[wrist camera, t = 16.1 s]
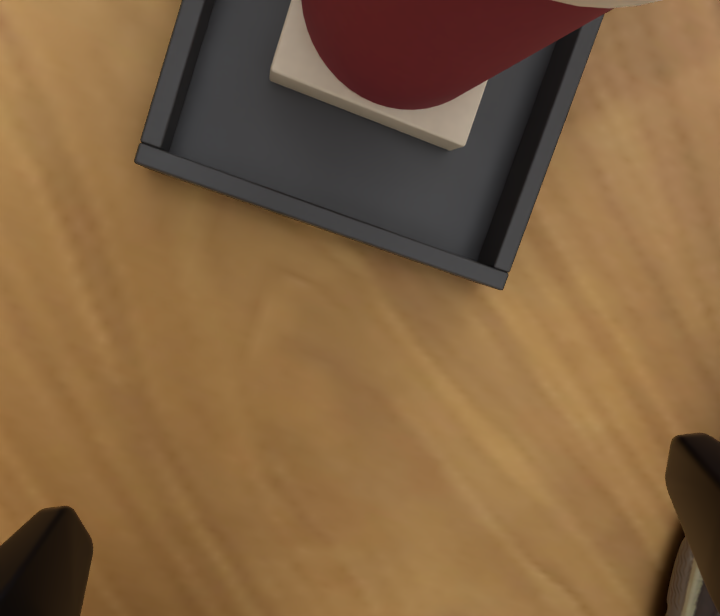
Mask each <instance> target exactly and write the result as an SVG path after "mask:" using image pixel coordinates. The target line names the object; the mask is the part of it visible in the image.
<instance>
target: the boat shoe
mask: <svg viewBox="0 0 720 616" xmlns="http://www.w3.org/2000/svg"><path fill="white" fill-rule="evenodd" d="M667 604H668V609H667V613H666V615H665V616H720V615H719V613H718V611H717V609H716V607H715V605H714V603H713V601H712V599H711V597H710V595H709V592H708V590H707V588H706V585H705V583H704V581H703V578H702V576H701V573H700V571H699V568H698V566H697V563H696V561H695V558H694V556H693V553H692V551H691V548H690V546H689V543H688V541H687V538H686V536H685V538H684V539H683V541H682V543H681V545H680V548H679V551H678V554H677V557H676V560H675V563H674V567H673V571H672V575H671V579H670V584H669V589H668V594H667Z"/></svg>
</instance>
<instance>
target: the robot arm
mask: <svg viewBox="0 0 720 616" xmlns="http://www.w3.org/2000/svg"><path fill="white" fill-rule="evenodd" d="M665 481H666V486H667V490H668V493H669V495H670V498H671V500H672V503H673V505H674V508H675V510H676V513H677V515H678V518H679V520H680V523H681V526H682V528H683V531H684V533H685V536H686V538H687V541H688V543H689V546H690V548H691V551H692V553H693V556H694V558H695V561H696V563H697V566H698V568H699V571H700V573H701V576H702V578H703V581H704V583H705V585H706V588H707V590H708V592H709V595H710V597H711V599H712V601H713V603H714V605H715V607H716V609H717V611H718V613H719V615H720V442H719V441H717V440H716V439H714V438H713V437H711V436H709V435H707V434H704V433H693V434H684V435H677V436H675V437H674V438H673V439H672V442H671V445H670V451H669V456H668V462H667V467H666V473H665ZM92 555H93V543H92V539H91V537H90V535H89V533H88V532H87V530H86V529H85V527H84V525H83V524H82V522H81V520H80V519H79V517H78V515H77V514H76V512H75V511H74V509H72V508H71V507H69V506H60V507H51V508H45V509H42V510H40V511H39V512H38V513H36V514H35V515H34V516H33V517H32V518H31V519H30V520H29V521H27V522H26V523H25V524H24V525H23V526H22V527H21V528H20V529H19V530H18V531H16V532H15V533H14V534H13V535H12V536H11V537H10V538H9V539H8V540H7V541H5V542H4V543H3V544H2V545H1V546H0V616H80V614H81V609H82V604H83V599H84V594H85V589H86V585H87V580H88V575H89V570H90V565H91V560H92Z"/></svg>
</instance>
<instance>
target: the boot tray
mask: <svg viewBox="0 0 720 616" xmlns="http://www.w3.org/2000/svg"><path fill="white" fill-rule="evenodd" d="M290 3H291V0H182V2H181V5H180V9H179V12H178V16H177V19H176V22H175V26H174V29H173V32H172V36H171V39H170V42H169V46H168V49H167V52H166V56H165V59H164V62H163V66H162V69H161V72H160V76H159V79H158V82H157V86H156V89H155V92H154V96H153V99H152V102H151V106H150V109H149V112H148V116H147V119H146V122H145V126H144V129H143V132H142V136H141V139H140V140H141V142H142V143H140V144H139V146H138V149H137V153H136V156H135V159H134V162H135V163H136V164H138V165H141V166H143V167H145V168H148V169H151V170H154V171H157V172H159V173H162V174H165V175H168V176H171V177H174V178H177V179H180V180H182V181H185V182H188V183H191V184H194V185H197V186H200V187H203V188H206V189H208V190H211V191H214V192H217V193H220V194H223V195H226V196H229V197H231V198H234V199H237V200H240V201H243V202H246V203H249V204H252V205H254V206H257V207H260V208H263V209H266V210H269V211H272V212H275V213H277V214H280V215H283V216H286V217H289V218H292V219H295V220H298V221H301V222H303V223H306V224H309V225H312V226H315V227H318V228H321V229H324V230H326V231H329V232H332V233H335V234H338V235H341V236H344V237H347V238H349V239H352V240H355V241H358V242H361V243H364V244H367V245H370V246H372V247H375V248H378V249H381V250H384V251H387V252H390V253H393V254H395V255H398V256H401V257H404V258H407V259H410V260H413V261H416V262H419V263H421V264H424V265H427V266H430V267H433V268H436V269H439V270H442V271H444V272H447V273H450V274H453V275H456V276H459V277H462V278H465V279H467V280H470V281H473V282H476V283H479V284H482V285H485V286H489V287H492V288H495V289H498V290H503V288H504V286H505V283H506V280H507V278H508V273H507V272H510V269H511V267H512V264H513V261H514V259H515V256H516V253H517V250H518V248H519V245H520V242H521V239H522V237H523V234H524V231H525V229H526V226H527V223H528V220H529V218H530V215H531V212H532V210H533V207H534V204H535V201H536V199H537V196H538V193H539V190H540V188H541V185H542V182H543V180H544V177H545V174H546V171H547V169H548V166H549V163H550V161H551V158H552V155H553V152H554V150H555V147H556V144H557V142H558V139H559V136H560V133H561V131H562V128H563V125H564V122H565V120H566V117H567V114H568V112H569V109H570V106H571V103H572V101H573V98H574V95H575V93H576V90H577V87H578V84H579V82H580V79H581V76H582V73H583V71H584V68H585V65H586V63H587V60H588V57H589V54H590V52H591V49H592V46H593V44H594V41H595V38H596V35H597V33H598V30H599V27H600V24H601V22H602V19H603V16H604V14H603V15H601V16H599V17H598V18H596V19H594V20H592V21H591V22H589V23H587V24H585V25H584V26H582V27H580V28H578V29H577V30H575V31H573V32H571V33H569V34H568V35H566V36H564V37H562V38H561V39H559V40H557V41H555V42H554V43H552V44H550V45H548V46H547V47H545V48H543V49H541V50H539V51H538V52H536V53H534V54H532V55H531V56H529V57H527V58H525V59H524V60H522V61H520V62H518V63H517V64H515V65H513V66H511V67H510V68H508V69H506V70H504V71H502V72H501V73H499V74H497V75H495V76H494V77H492V78H490V79H488V81H487V84H486V87H485V90H484V92H483V95H482V98H481V101H480V104H479V107H478V110H477V113H476V116H475V118H474V121H473V124H472V127H471V130H470V133H469V136H468V139H467V142H466V144H465V146H464V147H460V148H457V149H454V150H450V151H449V150H446V149H444V148H441V147H439V146H436V145H433V144H431V143H428V142H426V141H423V140H421V139H418V138H416V137H413V136H410V135H408V134H405V133H403V132H400V131H398V130H395V129H392V128H390V127H387V126H385V125H382V124H380V123H377V122H374V121H372V120H369V119H367V118H364V117H362V116H359V115H356V114H354V113H351V112H349V111H346V110H344V109H341V108H338V107H336V106H333V105H331V104H328V103H326V102H323V101H320V100H318V99H315V98H313V97H310V96H308V95H305V94H302V93H300V92H297V91H295V90H292V89H290V88H287V87H284V86H282V85H279V84H277V83H274V82H272V81H270V80H269V76H270V68H271V64H272V61H273V58H274V55H275V52H276V48H277V45H278V42H279V39H280V35H281V32H282V29H283V26H284V22H285V19H286V16H287V13H288V10H289V6H290Z"/></svg>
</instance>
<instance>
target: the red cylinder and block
mask: <svg viewBox="0 0 720 616" xmlns="http://www.w3.org/2000/svg"><path fill="white" fill-rule="evenodd" d="M657 1H661V0H291V3H290V6H289V10H288V13H287V16H286V19H285V22H284V26H283V29H282V32H281V35H280V39H279V42H278V45H277V48H276V52H275V55H274V58H273V61H272V64H271V68H270V76H269V80H270V81H272V82H274V83H277V84H279V85H282V86H284V87H287V88H290V89H292V90H295V91H297V92H300V93H302V94H305V95H308V96H310V97H313V98H315V99H318V100H320V101H323V102H326V103H328V104H331V105H333V106H336V107H338V108H341V109H344V110H346V111H349V112H351V113H354V114H356V115H359V116H362V117H364V118H367V119H369V120H372V121H374V122H377V123H380V124H382V125H385V126H387V127H390V128H392V129H395V130H398V131H400V132H403V133H405V134H408V135H410V136H413V137H416V138H418V139H421V140H423V141H426V142H428V143H431V144H433V145H436V146H439V147H441V148H444V149H446V150H449V151H450V150H454V149H457V148H460V147H464V146H465V144H466V142H467V139H468V136H469V133H470V130H471V127H472V124H473V121H474V118H475V116H476V113H477V110H478V107H479V104H480V101H481V98H482V95H483V92H484V90H485V87H486V84H487V81H488V79H490V78H492V77H494V76H495V75H497V74H499V73H501V72H502V71H504V70H506V69H508V68H510V67H511V66H513V65H515V64H517V63H518V62H520V61H522V60H524V59H525V58H527V57H529V56H531V55H532V54H534V53H536V52H538V51H539V50H541V49H543V48H545V47H547V46H548V45H550V44H552V43H554V42H555V41H557V40H559V39H561V38H562V37H564V36H566V35H568V34H569V33H571V32H573V31H575V30H577V29H578V28H580V27H582V26H584V25H585V24H587V23H589V22H591V21H592V20H594V19H596V18H598V17H599V16H601V15H603V14H605V13H607V12H608V11H610V10H612V9H614V8H619V7H631V6H641V5H645V4H649V3H653V2H657Z"/></svg>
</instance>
